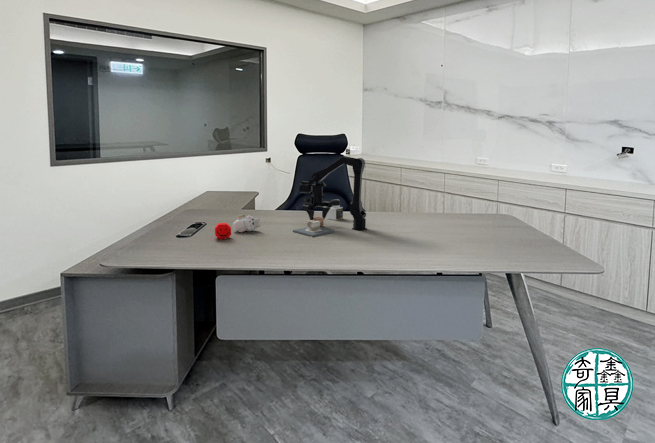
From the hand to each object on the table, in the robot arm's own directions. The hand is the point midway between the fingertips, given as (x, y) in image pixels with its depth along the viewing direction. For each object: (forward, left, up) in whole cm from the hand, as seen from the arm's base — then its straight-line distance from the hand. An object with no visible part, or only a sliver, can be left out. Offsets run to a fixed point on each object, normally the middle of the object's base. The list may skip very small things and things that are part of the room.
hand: (317, 220), depth 286 cm
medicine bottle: (+8, -22, -3) cm, 24 cm away
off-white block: (-10, +12, -2) cm, 16 cm away
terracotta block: (0, 0, -3) cm, 3 cm away
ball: (+11, +56, -4) cm, 57 cm away
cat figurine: (+16, +38, -4) cm, 41 cm away
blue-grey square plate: (-10, +12, -3) cm, 16 cm away
